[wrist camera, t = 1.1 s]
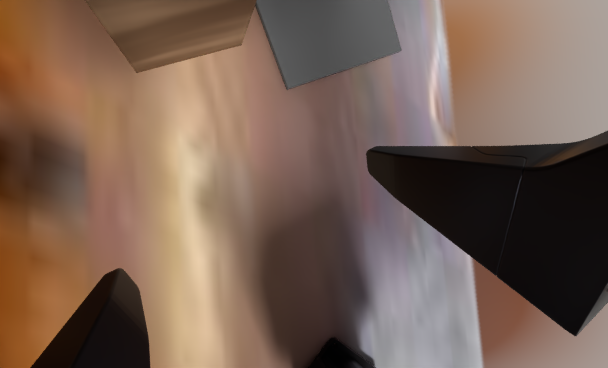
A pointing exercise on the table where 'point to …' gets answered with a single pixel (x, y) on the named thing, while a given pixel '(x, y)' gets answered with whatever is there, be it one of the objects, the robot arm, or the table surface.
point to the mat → (326, 35)
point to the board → (172, 28)
